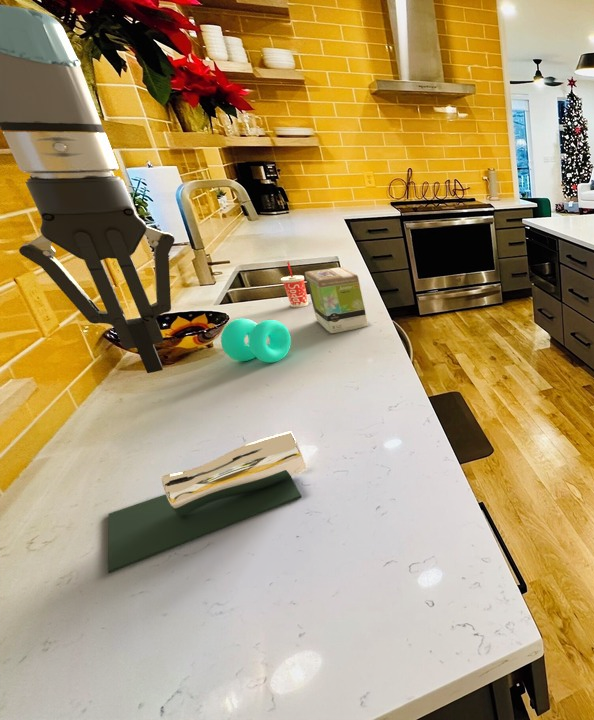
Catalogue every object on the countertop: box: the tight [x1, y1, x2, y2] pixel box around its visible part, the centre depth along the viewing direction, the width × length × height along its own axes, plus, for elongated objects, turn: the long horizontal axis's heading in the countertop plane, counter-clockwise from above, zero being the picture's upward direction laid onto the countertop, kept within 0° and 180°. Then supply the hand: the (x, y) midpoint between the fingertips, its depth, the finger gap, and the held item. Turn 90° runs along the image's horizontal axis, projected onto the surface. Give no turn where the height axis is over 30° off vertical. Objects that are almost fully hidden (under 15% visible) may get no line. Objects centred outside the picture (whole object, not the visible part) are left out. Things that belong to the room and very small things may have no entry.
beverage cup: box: [280, 261, 309, 308], centre depth 155 cm, size 6×6×14 cm
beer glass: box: [161, 430, 308, 517], centre depth 72 cm, size 7×7×15 cm
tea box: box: [304, 266, 369, 334], centre depth 139 cm, size 15×10×15 cm
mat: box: [107, 477, 303, 574], centre depth 70 cm, size 14×20×1 cm
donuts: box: [220, 318, 292, 364], centre depth 116 cm, size 10×10×10 cm
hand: (154, 368), depth 65 cm, fingers closed
